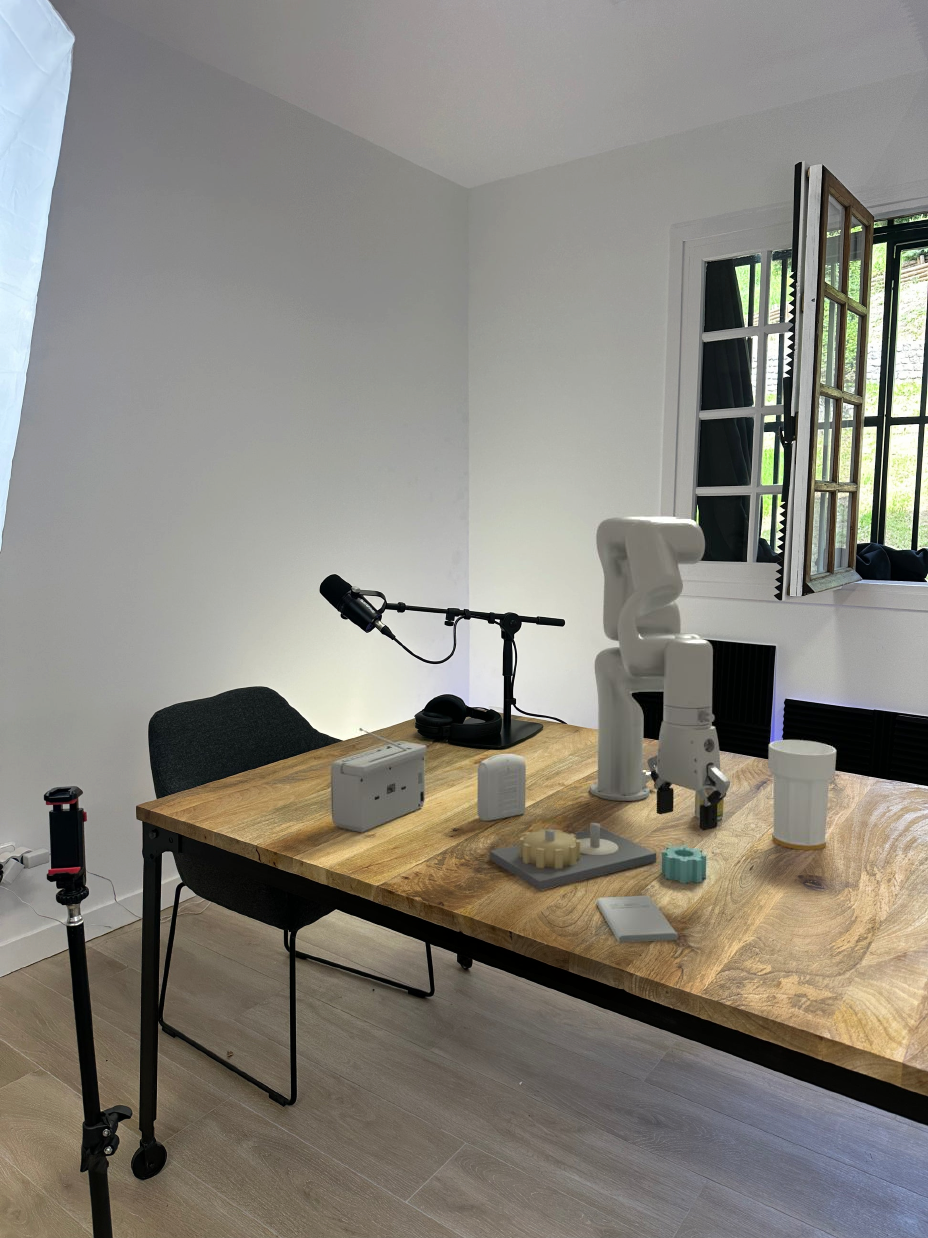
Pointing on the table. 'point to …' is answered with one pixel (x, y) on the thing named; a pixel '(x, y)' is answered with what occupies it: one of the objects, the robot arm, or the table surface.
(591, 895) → the table surface
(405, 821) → the table surface
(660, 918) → the external hard drive
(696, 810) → the supplement bottle
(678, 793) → the table surface
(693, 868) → the teal gear
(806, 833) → the cup
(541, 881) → the gear board
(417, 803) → the stereo radio cassette player
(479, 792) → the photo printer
